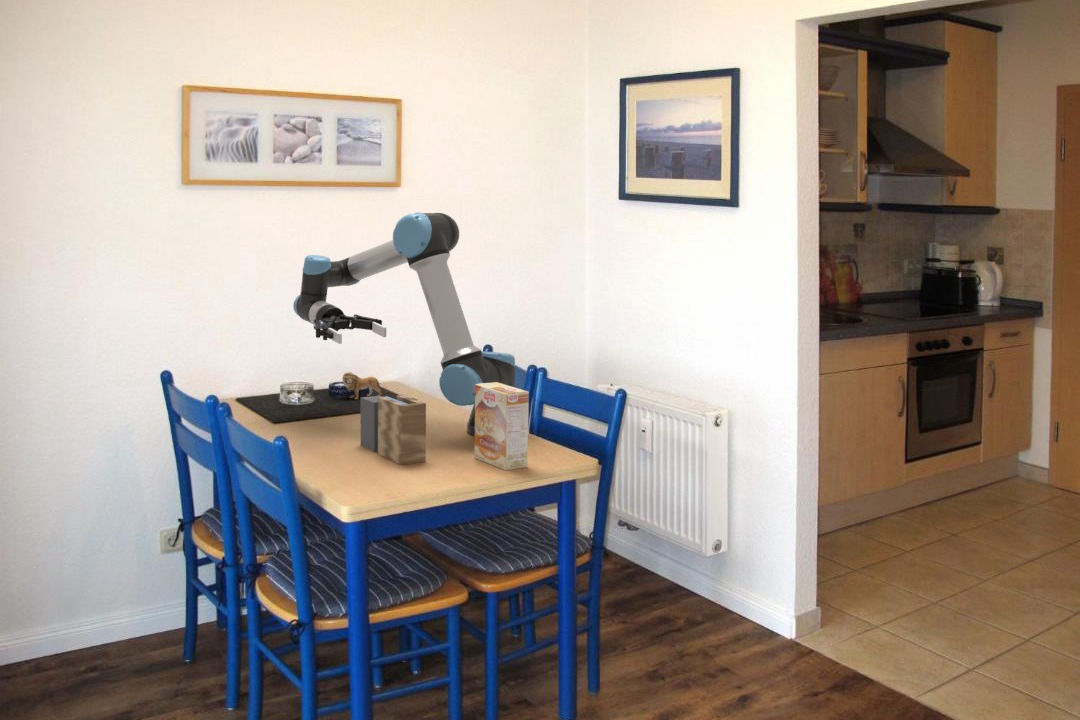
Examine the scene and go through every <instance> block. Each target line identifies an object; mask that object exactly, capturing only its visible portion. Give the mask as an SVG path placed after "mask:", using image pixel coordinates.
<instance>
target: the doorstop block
mask: <svg viewBox="0 0 1080 720" xmlns="http://www.w3.org/2000/svg"><path fill="white" fill-rule="evenodd" d="M378 397H382V395H381V396H377V395H370V396H363V397H362V396H361V397H360V400H359V402H360V403H359V404H360V405H359V406H360V409H359V410H360V411H359V413H360V446H362V447H364V448H365V449H368V450H371V451H373V452H378Z"/></svg>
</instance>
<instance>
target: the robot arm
mask: <svg viewBox="0 0 1080 720" xmlns="http://www.w3.org/2000/svg"><path fill="white" fill-rule="evenodd" d="M459 239H460V229H459V225H458V224H457V221H455V219H453V217H451V216H450V215H448V214H446V213H443V212H415V213H410V214H405V215H404V216H403V217H401V218H400V219H399V220H398V221H397V222H396V224H395V227H394V229H393V232H392V240H390V241H387V242H384V243H381V244H380V245H377V246H375V247H372V248H370V249H367V250H365V251H361V252H359V253H357V254H353V255H352V256H349V257H346V258H344V259H341V260H337V261H331V259H330V258H329V257H328V256H324V255H320V254H316V255H315V254H308V255H307V256H305V257H304V263H303V268H302V275H301V277H302V278H301V287H300V288H301V289H300V294H299V295H297V296H296V298H295V300H294V301H293V304H292V305H293V310H294V313H295V314H296V315H297V316H298V317H299V318H300V319H302V320H303V321H305V322H308V323H310V324H312V325H313V329H314V330H315V338H317V339H319V338H321V337H322V341H327V340H328V339H329V340H331V341H333V342H335V343H337V344H338V345H339V344H341V345H342V343H343V338H342V337H343V335H342V334H343V333H341V332H339V331H340V330H354V329H359V330H366V331H372V332H371V333H375V334H377V335H379V336H380V337H382V338H387V327H386V326H384V325H383V320H382V319H378V318H373V317H369V316H363V315H359V314H353V316H350V315H349V316H348V315H346V314H345V313H344V311H343V310H342V309H341V308H339V307H337V306H335V305H333V304H331V303H329V302H327V296H328V288H333V287H345V286H346V287H347V286H348V287H349V286H353V285H356V284H359V282H360V281H361V280H364V279H367V278H369V277H371V276H374V275H378V274H379V273H382V272H385V271H388V270H390V269H393V268H396V267H399V266H401V265H404V264H406V263H408V267H409V268H410V269H411V270H413V271H415V272H416V274H417V276H418V279H419V282H420V285H421V289H422V291H423V295H424V299H425V300H426V301H425V302H426V304H427V307H428V310H429V313H430V317H431V320H432V323H433V326H434V329H435V331H436V335H437V338H438V342H439V344H440V345H439V346H440V348H441V350H442V353H443V356H442V358H441V361H440V365H441V369H442V372H441V373H440V377H439V378H438V379H439V383H438V385H439V388H440V391H441V393H442V395H443V396H444V397H445V399H446V400H447V401H449V402H450V403H452V404H453V405H455V406H458V407H459V406H460V407H465V406H472V408H471V412H470V415H469V418H468V419H467V420H468V421H467V424H466V425H467V426H466V433H468V434H469V435H472V436H475V384H480V383H493V382H498V383H501V384H505V385H508V386H511V387H515V388H516V368H517V366H516V358H515V356H514V355H513V354H511V353H506V352H494V351H482V349H481V348H479V347H477V346H475V344H474V341H473V339H472V336H471V335H472V334H471V333H470V330H469V326H468V324H467V321H466V318H465V314H464V311H463V308H462V305H461V302H460V299H459V296H458V292H457V289H456V286H455V283H454V280H453V277H452V274H451V271H450V268H449V265H448V260H449V258H450V257H451V253H450V252H451V251H453V249H455V248H456V247H457V245H458V242H459Z"/></svg>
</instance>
